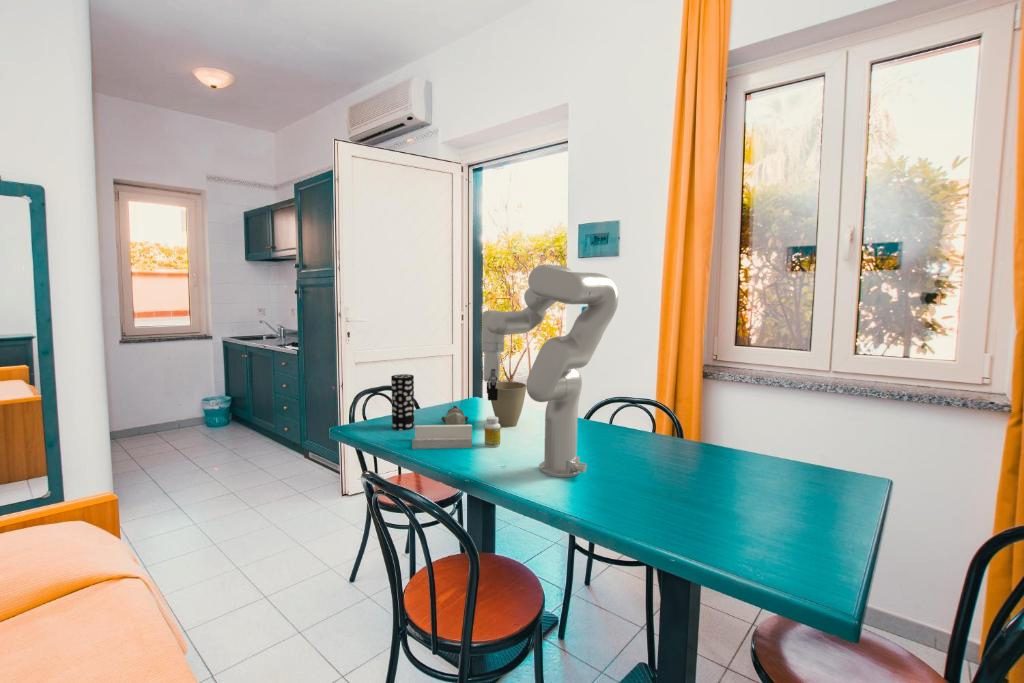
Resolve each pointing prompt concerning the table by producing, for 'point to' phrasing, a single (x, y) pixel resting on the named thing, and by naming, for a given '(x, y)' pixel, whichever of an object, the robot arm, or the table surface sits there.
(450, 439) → the track
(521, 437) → the table surface
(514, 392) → the plant pot
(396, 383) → the spotted tube
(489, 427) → the supplement bottle
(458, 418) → the ceramic sculpture
